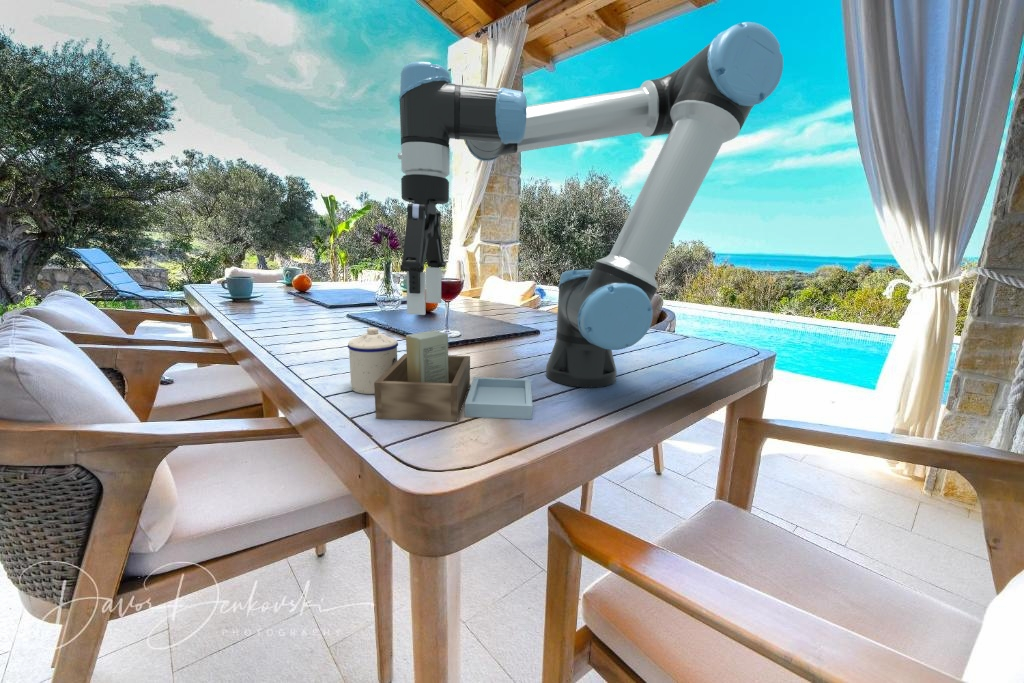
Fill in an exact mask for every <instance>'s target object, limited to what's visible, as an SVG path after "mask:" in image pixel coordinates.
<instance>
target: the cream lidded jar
mask: <svg viewBox="0 0 1024 683" xmlns="http://www.w3.org/2000/svg"><path fill="white" fill-rule="evenodd" d="M398 346H399V343H398V340H397V339H395V338H394V337H391V336H388V335H385V334H384V333H382V332H379V328H377V327H369V328H367V330H366V333H363V334H361V335H360V336H359V337H356V338H352V339H351V340H349V342H348V344H347V348H348V353H349V370H350V388H351V390H352V391H354V392H356V393H357V394H362V395H375V387H374V383H375V382H376V381H377V380H378V379H379V378H380V377H381V376H382V375H383V374H384V373H385V372H386V371H387V370H388V369H389V368H390V367H391V366H392V365H393V364H395V363H396V362H397V361H398Z"/></svg>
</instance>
